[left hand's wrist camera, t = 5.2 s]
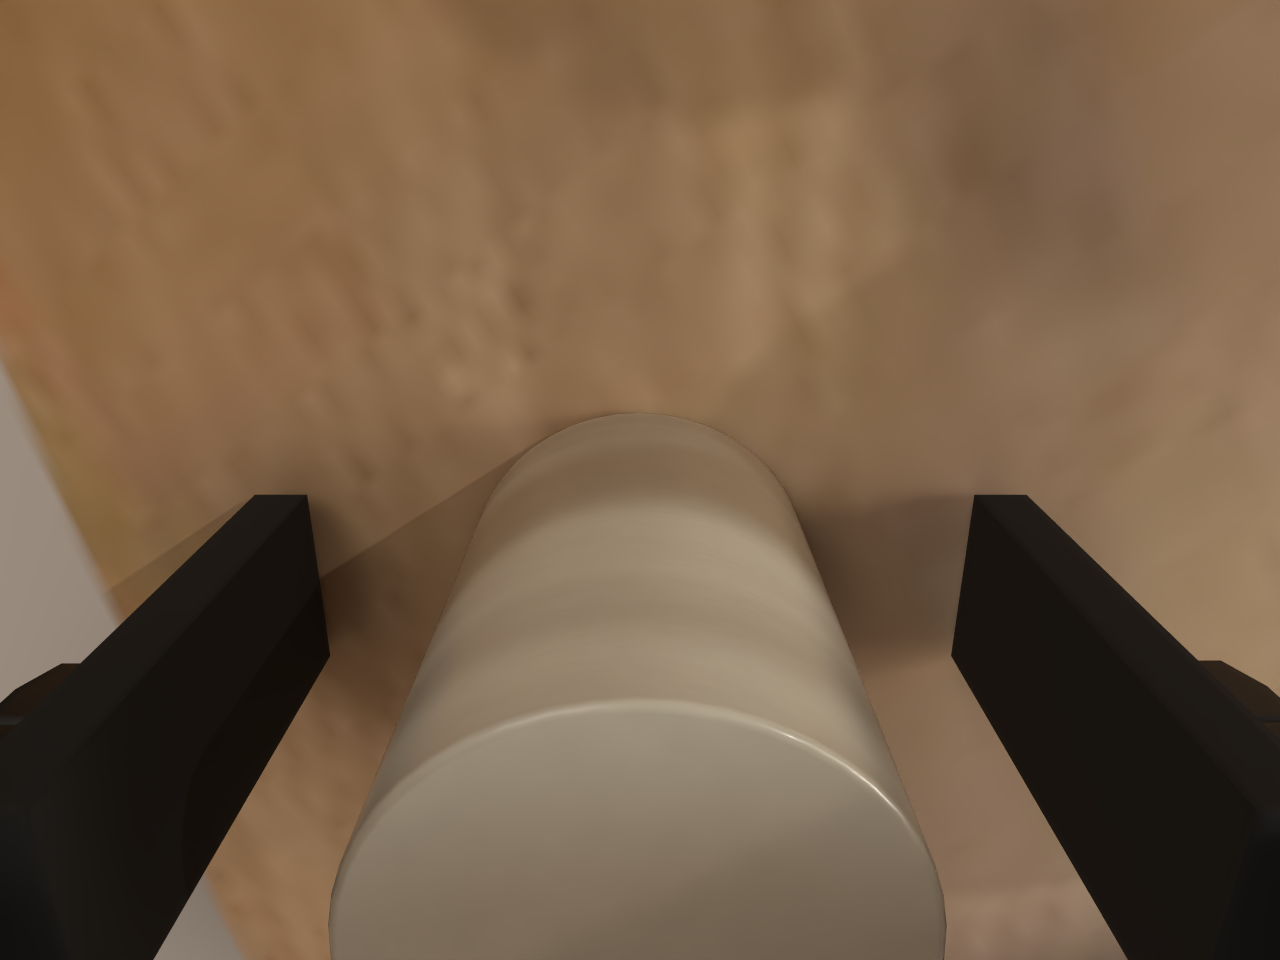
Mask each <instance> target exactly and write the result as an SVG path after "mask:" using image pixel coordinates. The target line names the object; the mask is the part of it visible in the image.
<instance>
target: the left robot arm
mask: <svg viewBox="0 0 1280 960" xmlns="http://www.w3.org/2000/svg"><path fill="white" fill-rule="evenodd" d="M951 656H952V658H953V660H954V661H955V663H956V665H957V667H958V668H959V670H960V672H961V673H962V675H963V677H964V679H965V680H966V682H967V684H968V685H969V687H970V689H971V691H972V692H973V694H974V696H975V697H976V699H977V701H978V703H979V704H980V706H981V708H982V709H983V711H984V713H985V715H986V716H987V718H988V720H989V722H990V723H991V725H992V727H993V728H994V730H995V732H996V734H997V735H998V737H999V739H1000V740H1001V742H1002V744H1003V746H1004V747H1005V749H1006V751H1007V752H1008V754H1009V756H1010V758H1011V759H1012V761H1013V763H1014V765H1015V766H1016V768H1017V770H1018V771H1019V773H1020V775H1021V777H1022V778H1023V780H1024V782H1025V783H1026V785H1027V787H1028V789H1029V790H1030V792H1031V794H1032V795H1033V797H1034V799H1035V801H1036V802H1037V804H1038V806H1039V808H1040V809H1041V811H1042V813H1043V814H1044V816H1045V818H1046V820H1047V821H1048V823H1049V825H1050V826H1051V828H1052V830H1053V832H1054V833H1055V835H1056V837H1057V838H1058V840H1059V842H1060V844H1061V845H1062V847H1063V849H1064V850H1065V852H1066V854H1067V856H1068V857H1069V859H1070V861H1071V863H1072V864H1073V866H1074V868H1075V869H1076V871H1077V873H1078V875H1079V876H1080V878H1081V880H1082V881H1083V883H1084V885H1085V887H1086V888H1087V890H1088V892H1089V893H1090V895H1091V897H1092V899H1093V900H1094V902H1095V904H1096V906H1097V907H1098V909H1099V911H1100V912H1101V914H1102V916H1103V918H1104V919H1105V921H1106V923H1107V924H1108V926H1109V928H1110V930H1111V931H1112V933H1113V935H1114V936H1115V938H1116V940H1117V942H1118V943H1119V945H1120V947H1121V949H1122V950H1123V952H1124V954H1125V955H1126V957H1127V959H1128V960H1280V697H1278V696H1277V695H1276V694H1275V693H1274V692H1273V691H1272V690H1271V689H1270V688H1268V687H1267V686H1266V685H1264V684H1262V683H1260V682H1258V681H1257V680H1255V679H1253V678H1251V677H1249V676H1248V675H1246V674H1244V673H1242V672H1240V671H1239V670H1237V669H1235V668H1233V667H1231V666H1230V665H1228V664H1226V663H1224V662H1222V661H1198V660H1197V659H1196V658H1195V657H1194V656H1193V655H1192V654H1191V653H1190V652H1189V651H1188V650H1187V649H1185V648H1184V647H1183V646H1182V645H1181V644H1180V643H1179V642H1178V641H1177V640H1176V639H1175V638H1174V637H1173V636H1172V635H1171V634H1170V633H1169V632H1168V631H1167V630H1166V629H1165V628H1164V627H1163V626H1162V625H1161V624H1160V623H1159V622H1158V621H1156V620H1155V619H1154V618H1153V617H1152V616H1151V615H1150V614H1149V613H1148V612H1147V611H1146V610H1145V609H1144V608H1143V607H1142V606H1141V605H1140V604H1139V603H1138V602H1137V601H1136V600H1135V599H1134V598H1133V597H1132V596H1131V595H1130V594H1129V593H1127V592H1126V591H1125V590H1124V589H1123V588H1122V587H1121V586H1120V585H1119V584H1118V583H1117V582H1116V581H1115V580H1114V579H1113V578H1112V577H1111V576H1110V575H1109V574H1108V573H1107V572H1106V571H1105V570H1104V569H1103V568H1102V567H1101V566H1100V565H1099V564H1097V563H1096V562H1095V561H1094V560H1093V559H1092V558H1091V557H1090V556H1089V555H1088V554H1087V553H1086V552H1085V551H1084V550H1083V549H1082V548H1081V547H1080V546H1079V545H1078V544H1077V543H1076V542H1075V541H1074V540H1073V539H1072V538H1071V537H1070V536H1068V535H1067V534H1066V533H1065V532H1064V531H1063V530H1062V529H1061V528H1060V527H1059V526H1058V525H1057V524H1056V523H1055V522H1054V521H1053V520H1052V519H1051V518H1050V517H1049V516H1048V515H1047V514H1046V513H1045V512H1044V511H1043V510H1042V509H1041V508H1039V507H1038V506H1037V505H1036V504H1035V503H1034V502H1033V501H1032V500H1031V499H1030V498H1029V497H1028V496H1027V495H974V502H973V509H972V516H971V523H970V529H969V536H968V543H967V550H966V557H965V564H964V571H963V578H962V585H961V592H960V599H959V606H958V612H957V619H956V626H955V633H954V640H953V647H952V654H951ZM329 657H330V651H329V645H328V638H327V631H326V624H325V617H324V610H323V603H322V596H321V589H320V582H319V575H318V568H317V561H316V554H315V547H314V540H313V533H312V526H311V520H310V513H309V506H308V499H307V495H254V496H253V497H252V498H251V499H250V500H249V501H248V502H247V503H246V504H245V505H244V506H243V507H242V508H241V509H240V510H239V511H238V512H237V513H236V514H235V515H234V516H233V517H232V518H231V519H230V520H228V521H227V522H226V523H225V524H224V525H223V526H222V527H221V528H220V529H219V530H218V531H217V532H216V533H215V534H214V535H213V536H212V537H211V538H210V539H209V540H208V541H207V542H206V543H205V544H204V545H203V546H202V547H201V548H199V549H198V550H197V551H196V552H195V553H194V554H193V555H192V556H191V557H190V558H189V559H188V560H187V561H186V562H185V563H184V564H183V565H182V566H181V567H180V568H179V569H178V570H177V571H176V572H175V573H174V574H173V575H172V576H171V577H169V578H168V579H167V580H166V581H165V582H164V583H163V584H162V585H161V586H160V587H159V588H158V589H157V590H156V591H155V592H154V593H153V594H152V595H151V596H150V597H149V598H148V599H147V600H146V601H145V602H144V603H143V604H142V605H140V606H139V607H138V608H137V609H136V610H135V611H134V612H133V613H132V614H131V615H130V616H129V617H128V618H127V619H126V620H125V621H124V622H123V623H122V624H121V625H120V626H119V627H118V628H117V629H116V630H115V631H114V632H113V633H111V634H110V635H109V636H108V637H107V638H106V639H105V640H104V641H103V642H102V643H101V644H100V645H99V646H98V647H97V648H96V649H95V650H94V651H93V652H92V653H91V654H90V655H89V656H88V657H87V658H86V659H85V660H84V661H82V662H81V663H80V664H60V665H58V666H56V667H54V668H53V669H51V670H49V671H47V672H46V673H44V674H42V675H40V676H38V677H37V678H35V679H33V680H31V681H29V682H28V683H26V684H24V685H22V686H20V687H19V688H17V689H15V690H14V691H13V692H12V693H11V694H10V695H9V696H7V697H6V698H5V699H4V700H3V701H2V702H1V703H0V960H153V959H154V958H155V956H156V954H157V952H158V951H159V949H160V947H161V945H162V944H163V942H164V940H165V939H166V937H167V935H168V933H169V932H170V930H171V928H172V927H173V925H174V923H175V921H176V920H177V918H178V916H179V915H180V913H181V911H182V909H183V908H184V906H185V904H186V902H187V901H188V899H189V897H190V896H191V894H192V892H193V891H194V889H195V887H196V885H197V884H198V882H199V880H200V879H201V877H202V875H203V873H204V872H205V870H206V868H207V867H208V865H209V863H210V861H211V860H212V858H213V856H214V854H215V853H216V851H217V849H218V848H219V846H220V844H221V842H222V841H223V839H224V837H225V836H226V834H227V832H228V830H229V829H230V827H231V825H232V824H233V822H234V820H235V818H236V817H237V815H238V813H239V811H240V810H241V808H242V806H243V805H244V803H245V801H246V799H247V798H248V796H249V794H250V793H251V791H252V789H253V787H254V786H255V784H256V782H257V781H258V779H259V777H260V775H261V774H262V772H263V770H264V768H265V767H266V765H267V763H268V762H269V760H270V758H271V756H272V755H273V753H274V751H275V750H276V748H277V746H278V744H279V743H280V741H281V739H282V738H283V736H284V734H285V732H286V731H287V729H288V727H289V726H290V724H291V722H292V720H293V719H294V717H295V715H296V713H297V712H298V710H299V708H300V707H301V705H302V703H303V701H304V700H305V698H306V696H307V695H308V693H309V691H310V689H311V688H312V686H313V684H314V683H315V681H316V679H317V677H318V676H319V674H320V672H321V670H322V669H323V667H324V665H325V664H326V662H327V660H328V658H329Z"/></svg>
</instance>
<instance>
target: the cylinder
mask: <svg viewBox="0 0 1280 960" xmlns="http://www.w3.org/2000/svg"><path fill="white" fill-rule="evenodd" d="M328 926H329V939H330V952H331V960H944V952H945V939H946V926H947V925H946V915H945V905H944V895H943V891H942V888H941V884H940V881H939V877H938V874H937V870H936V867H935V863H934V861H933V858H932V856H931V853H930V851H929V848H928V846H927V843H926V841H925V838H924V836H923V833H922V831H921V828H920V826H919V823H918V820H917V818H916V815H915V813H914V810H913V808H912V805H911V803H910V800H909V798H908V795H907V793H906V790H905V788H904V785H903V783H902V780H901V778H900V775H899V772H898V770H897V767H896V765H895V762H894V760H893V757H892V755H891V752H890V750H889V747H888V745H887V742H886V740H885V737H884V735H883V732H882V730H881V727H880V725H879V722H878V719H877V717H876V714H875V712H874V709H873V707H872V704H871V702H870V699H869V697H868V694H867V692H866V689H865V687H864V684H863V682H862V679H861V677H860V674H859V671H858V669H857V666H856V664H855V661H854V659H853V656H852V654H851V651H850V649H849V646H848V644H847V641H846V639H845V636H844V634H843V631H842V629H841V626H840V624H839V621H838V618H837V616H836V613H835V611H834V608H833V606H832V603H831V601H830V598H829V596H828V593H827V591H826V588H825V586H824V583H823V581H822V578H821V576H820V573H819V570H818V568H817V565H816V563H815V560H814V558H813V555H812V553H811V550H810V548H809V545H808V543H807V540H806V538H805V535H804V533H803V530H802V528H801V525H800V523H799V520H798V517H797V515H796V513H795V510H794V508H793V506H792V504H791V502H790V500H789V498H788V495H787V494H786V492H785V491H784V489H783V488H782V486H781V485H780V483H779V482H778V480H777V479H776V477H775V476H774V475H773V474H772V473H771V472H770V470H769V469H768V468H767V467H766V466H765V465H764V464H763V462H762V461H760V460H759V459H758V458H757V457H756V456H755V455H753V454H752V453H751V452H750V451H749V450H748V449H747V448H745V447H744V446H742V445H741V444H739V443H738V442H736V441H735V440H733V439H731V438H730V437H728V436H727V435H725V434H723V433H721V432H719V431H716V430H714V429H712V428H710V427H708V426H706V425H703V424H700V423H696V422H693V421H690V420H687V419H684V418H679V417H673V416H668V415H663V414H649V413H629V414H615V415H610V416H604V417H599V418H594V419H591V420H588V421H584V422H581V423H578V424H575V425H572V426H570V427H568V428H566V429H564V430H561V431H559V432H557V433H555V434H553V435H551V436H550V437H548V438H546V439H545V440H543V441H542V442H540V443H539V444H537V445H536V446H534V447H533V448H531V449H530V450H529V451H528V452H527V453H526V454H524V455H523V456H522V457H521V458H520V459H519V460H517V461H516V462H515V464H514V465H513V466H512V467H511V468H510V469H509V470H508V471H507V473H506V474H505V475H504V476H503V477H502V479H501V480H500V482H499V483H498V485H497V486H496V488H495V489H494V491H493V492H492V494H491V496H490V498H489V500H488V502H487V504H486V506H485V508H484V510H483V513H482V515H481V517H480V520H479V522H478V525H477V527H476V530H475V532H474V535H473V537H472V540H471V542H470V545H469V547H468V549H467V552H466V554H465V557H464V559H463V562H462V564H461V567H460V569H459V572H458V574H457V577H456V579H455V581H454V584H453V586H452V589H451V591H450V594H449V596H448V599H447V601H446V604H445V606H444V609H443V611H442V613H441V616H440V618H439V621H438V623H437V626H436V628H435V631H434V633H433V636H432V638H431V641H430V643H429V645H428V648H427V650H426V653H425V655H424V658H423V660H422V663H421V665H420V668H419V670H418V673H417V675H416V677H415V680H414V682H413V685H412V687H411V690H410V692H409V695H408V697H407V700H406V702H405V705H404V707H403V710H402V712H401V714H400V717H399V719H398V722H397V724H396V727H395V729H394V732H393V734H392V737H391V739H390V742H389V744H388V746H387V749H386V751H385V754H384V756H383V759H382V761H381V764H380V766H379V769H378V771H377V774H376V776H375V778H374V781H373V783H372V786H371V788H370V791H369V793H368V796H367V798H366V801H365V803H364V806H363V808H362V810H361V813H360V815H359V818H358V820H357V823H356V825H355V828H354V830H353V833H352V835H351V838H350V840H349V843H348V845H347V847H346V850H345V852H344V855H343V857H342V860H341V862H340V865H339V869H338V872H337V876H336V879H335V883H334V886H333V890H332V893H331V903H330V913H329V923H328Z"/></svg>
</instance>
